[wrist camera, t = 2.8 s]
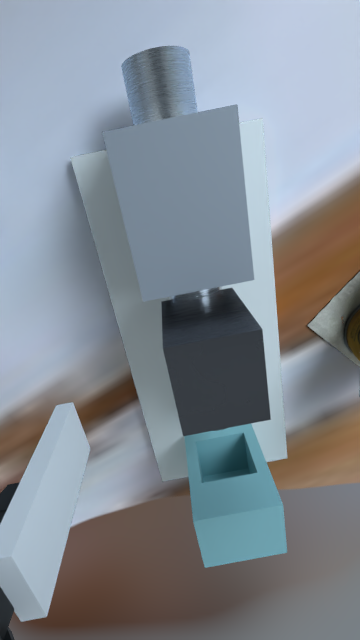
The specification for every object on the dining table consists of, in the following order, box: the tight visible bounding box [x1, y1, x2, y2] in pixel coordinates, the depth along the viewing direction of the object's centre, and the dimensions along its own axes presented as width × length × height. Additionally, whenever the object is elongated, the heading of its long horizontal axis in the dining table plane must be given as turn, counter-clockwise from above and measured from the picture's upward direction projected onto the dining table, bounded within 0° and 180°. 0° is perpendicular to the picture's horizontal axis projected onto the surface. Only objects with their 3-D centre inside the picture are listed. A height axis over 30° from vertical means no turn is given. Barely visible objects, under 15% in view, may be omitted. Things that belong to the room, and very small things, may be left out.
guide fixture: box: [70, 105, 287, 568], centre depth 22 cm, size 28×12×9 cm, turn 11°
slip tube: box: [121, 46, 271, 436], centre depth 18 cm, size 22×4×9 cm, turn 11°
